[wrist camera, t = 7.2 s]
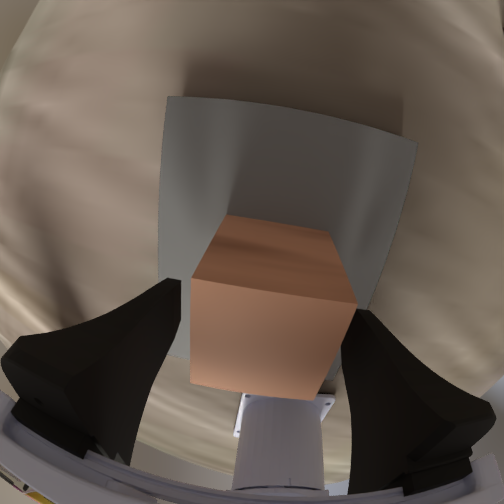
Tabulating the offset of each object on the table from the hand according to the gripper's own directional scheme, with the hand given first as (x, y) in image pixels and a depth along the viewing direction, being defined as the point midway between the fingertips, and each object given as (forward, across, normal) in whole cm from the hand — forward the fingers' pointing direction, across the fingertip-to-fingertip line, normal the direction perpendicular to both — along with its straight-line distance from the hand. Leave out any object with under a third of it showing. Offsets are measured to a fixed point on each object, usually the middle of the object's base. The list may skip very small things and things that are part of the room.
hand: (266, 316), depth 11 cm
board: (+6, 0, 0) cm, 6 cm away
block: (+4, 0, 0) cm, 4 cm away
